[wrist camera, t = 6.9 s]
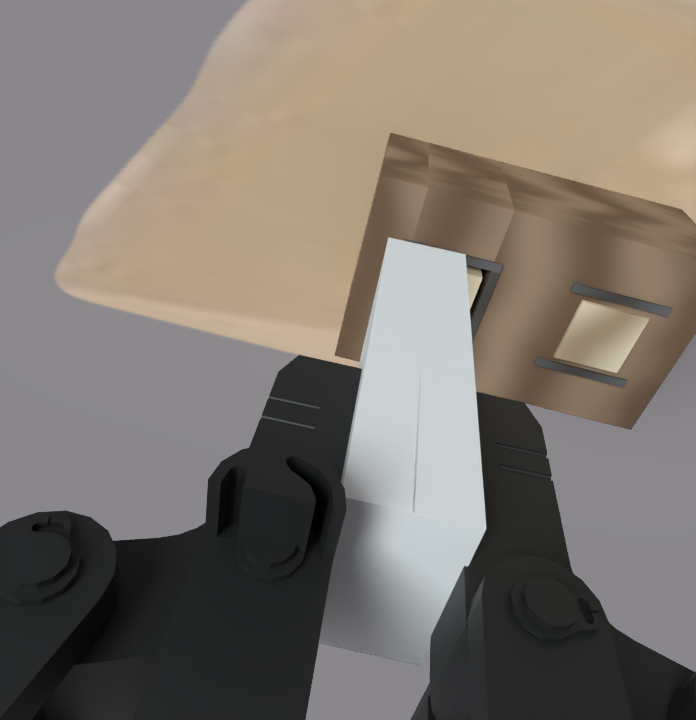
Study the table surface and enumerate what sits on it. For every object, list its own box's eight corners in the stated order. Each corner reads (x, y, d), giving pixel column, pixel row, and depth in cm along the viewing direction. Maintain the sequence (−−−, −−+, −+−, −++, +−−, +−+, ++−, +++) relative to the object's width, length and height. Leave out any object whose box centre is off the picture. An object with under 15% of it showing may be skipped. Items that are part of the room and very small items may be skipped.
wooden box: (681, 209, 40) (740, 270, 32) (599, 353, 47) (631, 432, 39) (390, 132, 39) (380, 177, 32) (350, 290, 46) (334, 357, 39)
